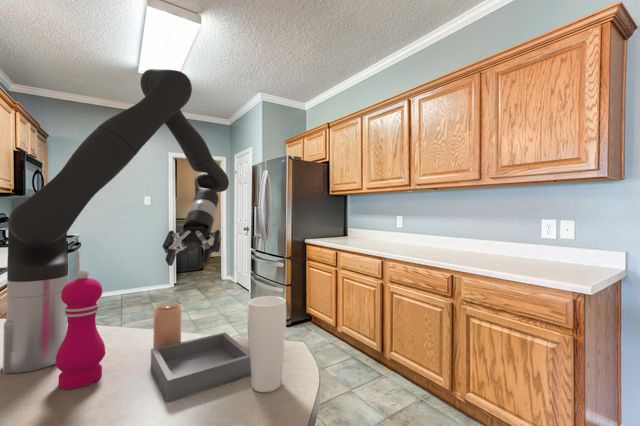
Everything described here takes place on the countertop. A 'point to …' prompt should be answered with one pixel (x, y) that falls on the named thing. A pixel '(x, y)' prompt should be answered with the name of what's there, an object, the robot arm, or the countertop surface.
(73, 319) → the pepper mill
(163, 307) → the terracotta cup
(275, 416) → the countertop surface
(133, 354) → the countertop surface
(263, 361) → the drinking glass
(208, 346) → the charcoal tray
